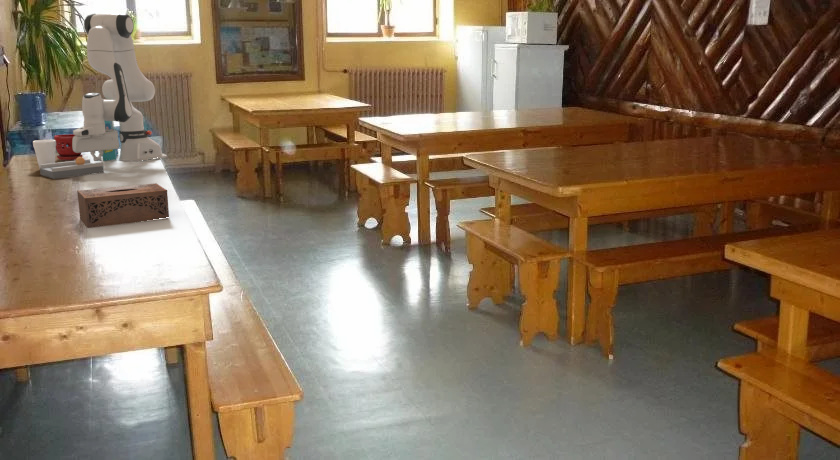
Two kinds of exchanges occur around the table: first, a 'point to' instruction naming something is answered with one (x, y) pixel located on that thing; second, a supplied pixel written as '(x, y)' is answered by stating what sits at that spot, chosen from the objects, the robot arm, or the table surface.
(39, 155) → the foam cup
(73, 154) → the plant pot
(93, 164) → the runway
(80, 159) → the ball
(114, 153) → the game box
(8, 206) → the table surface
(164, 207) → the tissue box cover
